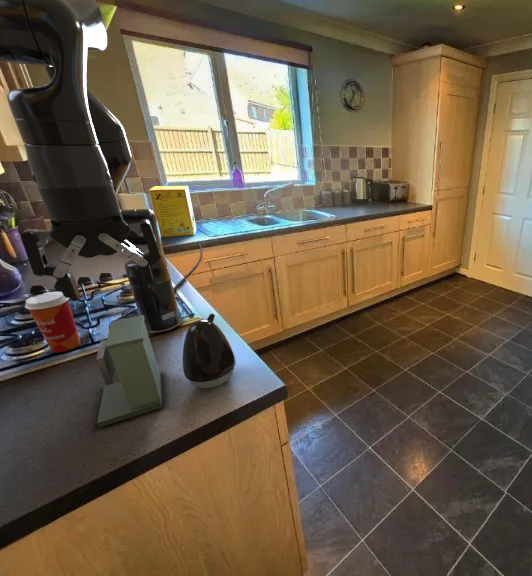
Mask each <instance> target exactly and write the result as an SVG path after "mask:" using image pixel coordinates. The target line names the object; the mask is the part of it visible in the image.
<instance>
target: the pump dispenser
mask: <svg viewBox="0 0 532 576" xmlns="http://www.w3.org/2000/svg"><path fill="white" fill-rule="evenodd" d="M215 317H216V315H215V313H210V314H209V315H208V317H207V319H200V320H197V321H194V322H193V323H192V324H191V325H190V326H189V328H188V329H187V330H186V333H185V337H184V341H183V346H182V348H183V349H182V371H183V375H184V377H185V378H186V379H187V380H188V381H189V382H190V383H191V384H192V385H193V386H195V387H197V388H201V389H212V388H216V387H219V386H221V385H223V384H224V383H226V382H227V381H228V380H229V379H230V378H231V377H232V375H233V373H234V370H235V366H236V361H237V360H236V357H235V353H234V351H233V349H232V346H231V344H230V341H229V340H228V338H227V337H226V335H225V334H224V332H223V331H222V330H221V328H220V327H219V325H217V324H216V323H215V322H214V320H215Z"/></svg>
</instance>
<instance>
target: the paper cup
mask: <svg viewBox="0 0 532 576" xmlns="http://www.w3.org/2000/svg"><path fill="white" fill-rule="evenodd" d="M69 300H70V298H66V297H65V296H64V295H63V293H62V291H49V292H43V293H42V294H36V295H35V296H30V297H29V298H27V299H26V300H25V306H24V308H25V309H27V310H28V312H29V313H30V315H31V317H32V319H33V320H34V322H35V324H36V325H37V327H38V329H39V331H40V333H41V335H42V336H43V338H44V340H45V342H46V343H47V345H48V347H49V348H50V350H51V352H52V353H64V352H69V351H71V350H74V349H76V348H78V347H79V346H80V345H81V338H80V335H79V330H78V328H77V325H76V322H75V319H74V315H73V311H72V309H71V306H70V302H69Z"/></svg>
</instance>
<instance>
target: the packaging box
mask: <svg viewBox="0 0 532 576" xmlns="http://www.w3.org/2000/svg"><path fill="white" fill-rule="evenodd" d="M189 189H190V188H189V185H157V186H153V187H151V188H149V189H148V193H149V196H150V201H151V205H152V209H153V213H154V214H155V216H156V218H157V221H158V226H159V231H160V236H161V238H169V237H171V238H172V237H184V236H195V234H196V232H197V224H196V219H195V213H194V209H193V203H192V199H191V194H190V190H189Z"/></svg>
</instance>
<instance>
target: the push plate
mask: <svg viewBox="0 0 532 576" xmlns="http://www.w3.org/2000/svg"><path fill="white" fill-rule="evenodd" d="M106 342H107V339H104V340H103V339H102V340H100V342H99V347H98V351H97V355H96V359H95V360H96V362H97V365H98V367H99V371H100V373H101V375H102V378H103V380H104V383H105V385H110V384H113V383H114V380H115V374H116V368H115V366H114V363H113V360H112V358H111V355H110V352H109V350H107V349H106Z"/></svg>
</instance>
